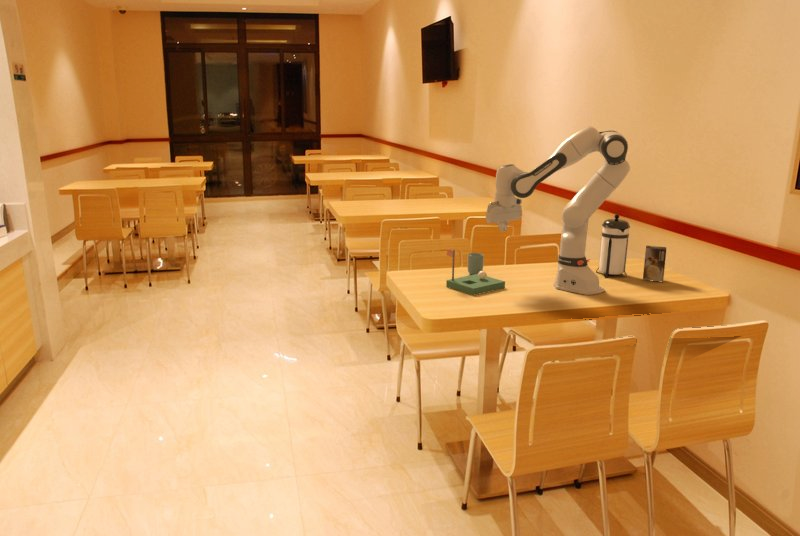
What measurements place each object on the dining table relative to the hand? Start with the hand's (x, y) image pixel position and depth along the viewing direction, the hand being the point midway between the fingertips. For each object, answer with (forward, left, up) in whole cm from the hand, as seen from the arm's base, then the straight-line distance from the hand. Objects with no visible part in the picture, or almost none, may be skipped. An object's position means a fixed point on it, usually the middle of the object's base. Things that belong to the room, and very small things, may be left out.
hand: (502, 230), depth 282 cm
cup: (+17, 0, -24) cm, 29 cm away
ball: (0, +12, -19) cm, 23 cm away
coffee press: (-21, -55, -24) cm, 64 cm away
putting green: (+1, +16, -24) cm, 29 cm away
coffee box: (-40, -62, -24) cm, 78 cm away
